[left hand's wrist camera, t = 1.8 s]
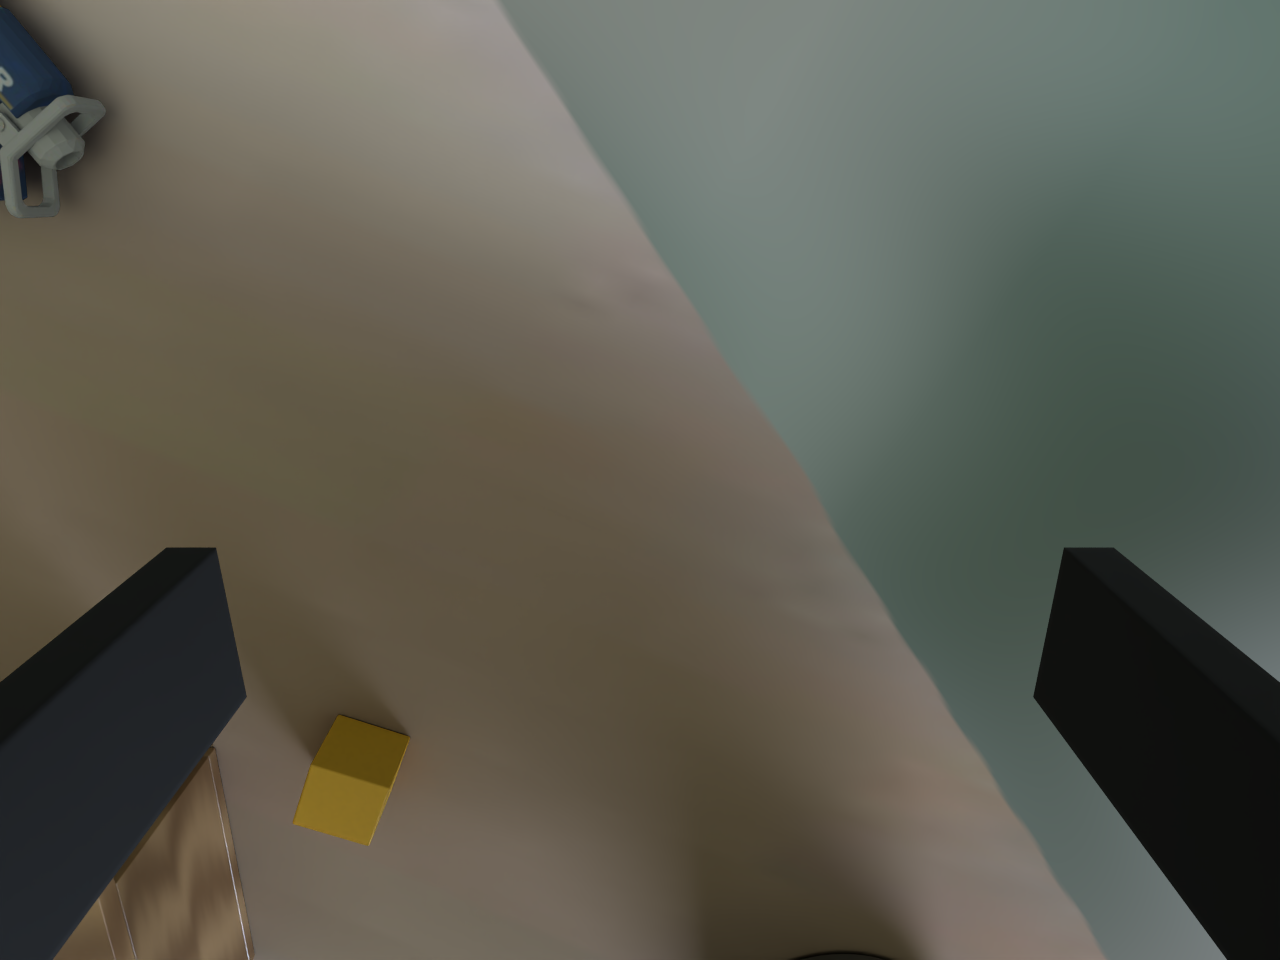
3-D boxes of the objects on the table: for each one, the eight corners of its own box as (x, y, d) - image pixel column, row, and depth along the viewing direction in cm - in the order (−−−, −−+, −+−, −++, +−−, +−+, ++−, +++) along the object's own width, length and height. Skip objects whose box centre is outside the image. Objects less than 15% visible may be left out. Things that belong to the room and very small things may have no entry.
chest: (19, 742, 48) (-127, 877, 39) (215, 746, 48) (116, 883, 39) (80, 951, 54) (-33, 1110, 45) (255, 954, 54) (177, 1115, 45)
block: (338, 713, 47) (310, 764, 43) (410, 736, 48) (389, 788, 44) (320, 769, 49) (291, 824, 45) (390, 791, 49) (368, 847, 45)
